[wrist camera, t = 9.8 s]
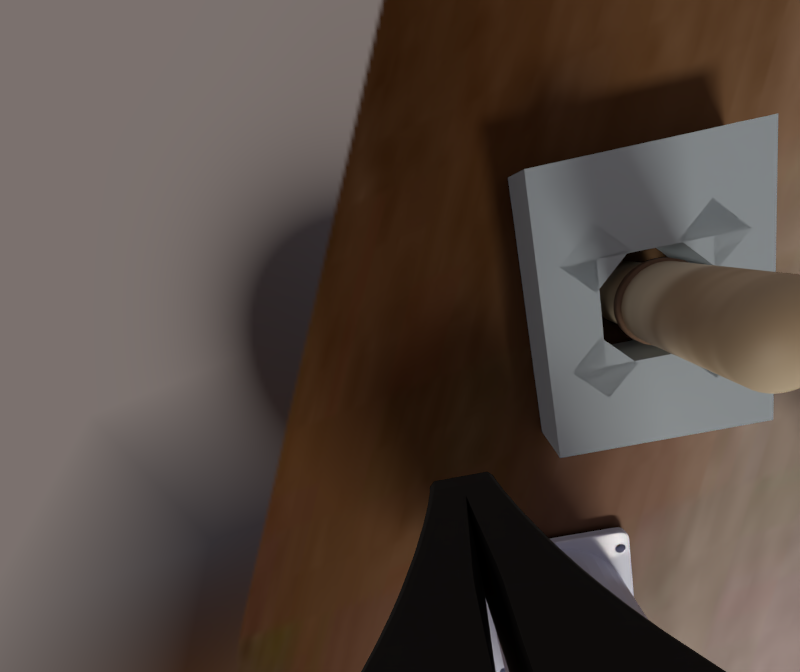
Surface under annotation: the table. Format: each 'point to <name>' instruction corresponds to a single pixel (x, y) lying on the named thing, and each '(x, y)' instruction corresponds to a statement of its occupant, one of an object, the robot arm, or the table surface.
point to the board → (602, 252)
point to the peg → (712, 317)
